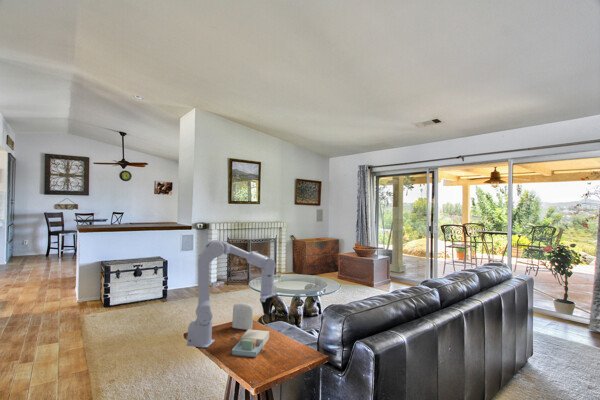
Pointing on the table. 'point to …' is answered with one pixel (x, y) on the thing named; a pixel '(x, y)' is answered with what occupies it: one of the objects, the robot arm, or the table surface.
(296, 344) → the table surface
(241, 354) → the box
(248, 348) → the sage tile
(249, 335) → the cream square block
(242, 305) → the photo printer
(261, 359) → the table surface
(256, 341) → the terracotta tile
